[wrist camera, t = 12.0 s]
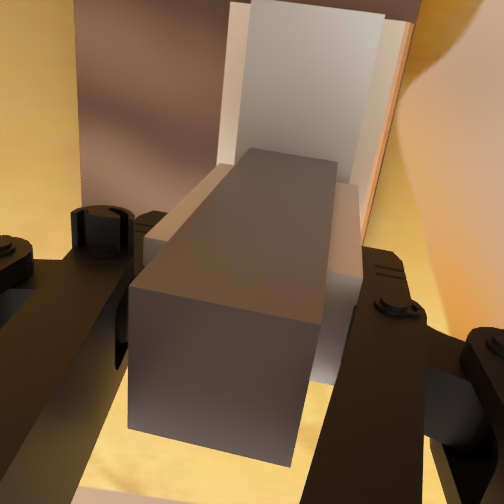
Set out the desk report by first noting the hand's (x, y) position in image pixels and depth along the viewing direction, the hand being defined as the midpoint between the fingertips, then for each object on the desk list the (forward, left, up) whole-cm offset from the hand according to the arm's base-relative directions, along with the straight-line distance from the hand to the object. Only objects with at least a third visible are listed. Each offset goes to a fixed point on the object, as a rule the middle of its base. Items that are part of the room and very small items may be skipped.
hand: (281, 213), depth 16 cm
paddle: (0, 0, -4) cm, 4 cm away
